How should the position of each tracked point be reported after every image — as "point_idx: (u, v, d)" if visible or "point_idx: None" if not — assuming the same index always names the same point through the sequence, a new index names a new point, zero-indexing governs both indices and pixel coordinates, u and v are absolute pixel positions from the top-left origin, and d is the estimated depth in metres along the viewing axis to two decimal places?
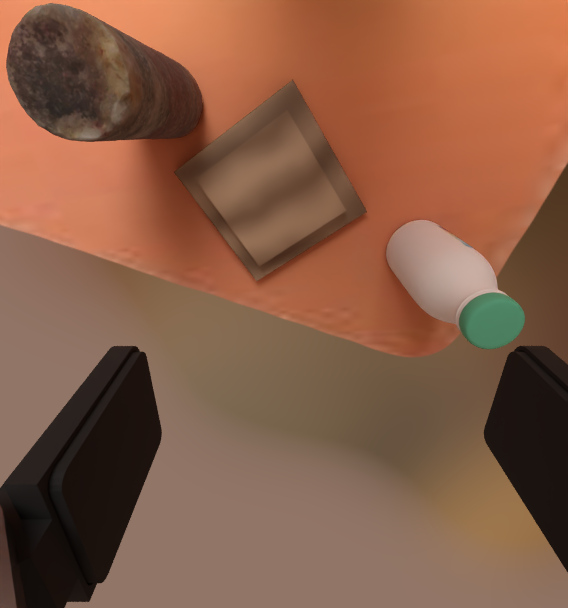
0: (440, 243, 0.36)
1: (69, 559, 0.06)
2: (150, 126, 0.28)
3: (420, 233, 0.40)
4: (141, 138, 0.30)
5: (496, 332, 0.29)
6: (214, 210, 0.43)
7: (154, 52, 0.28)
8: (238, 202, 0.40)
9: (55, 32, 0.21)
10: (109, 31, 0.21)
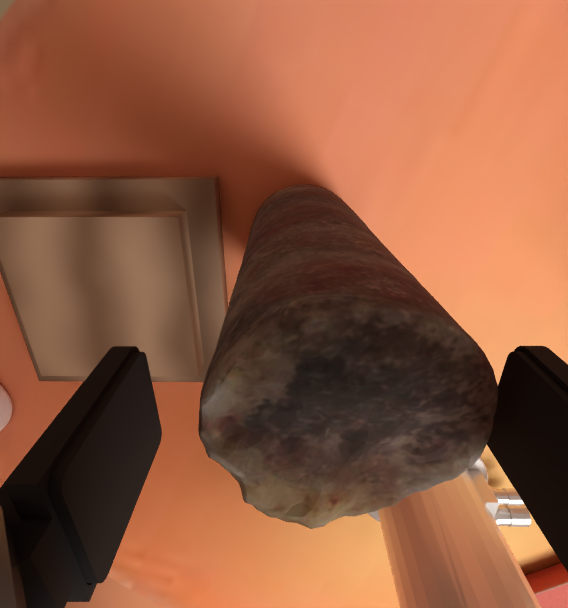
0: None
1: (70, 559, 0.06)
2: None
3: None
4: None
5: None
6: (125, 197, 0.24)
7: None
8: (112, 255, 0.23)
9: (423, 450, 0.09)
10: None
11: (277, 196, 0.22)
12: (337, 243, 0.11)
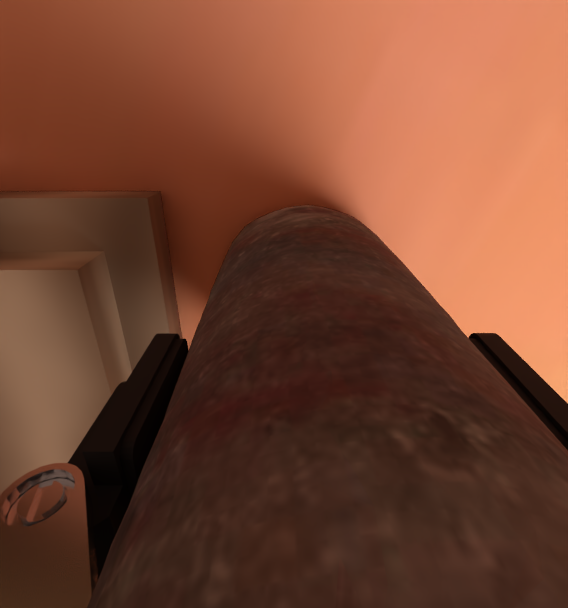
0: None
1: None
2: None
3: None
4: (126, 512, 0.05)
5: None
6: None
7: None
8: None
9: None
10: None
11: (259, 231, 0.12)
12: None
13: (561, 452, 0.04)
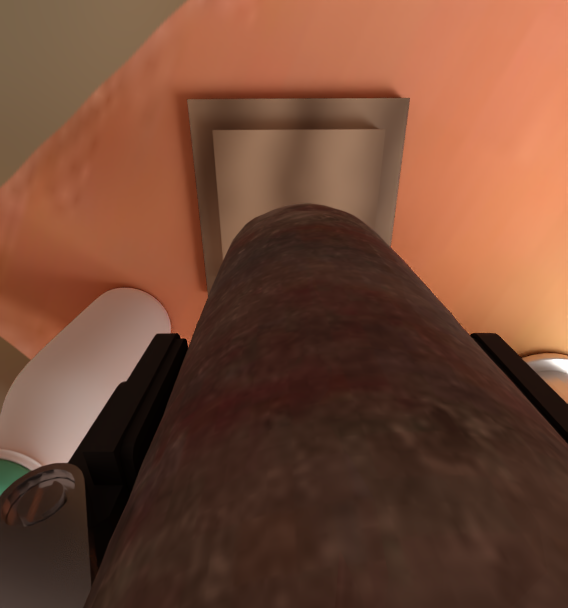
0: None
1: None
2: None
3: None
4: None
5: None
6: (326, 115, 0.27)
7: None
8: (318, 167, 0.26)
9: None
10: None
11: (259, 229, 0.12)
12: None
13: (563, 447, 0.04)
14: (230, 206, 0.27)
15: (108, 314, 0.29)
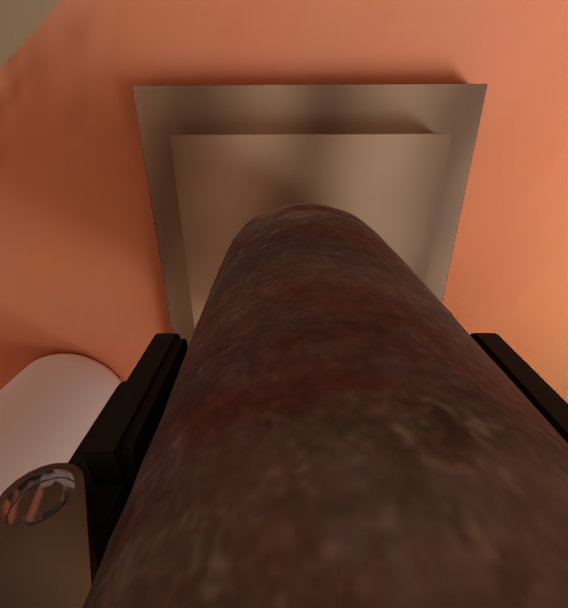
0: None
1: None
2: None
3: None
4: None
5: None
6: (353, 112, 0.17)
7: None
8: (340, 194, 0.16)
9: None
10: None
11: (258, 229, 0.12)
12: None
13: (563, 447, 0.04)
14: (203, 252, 0.18)
15: (21, 410, 0.19)
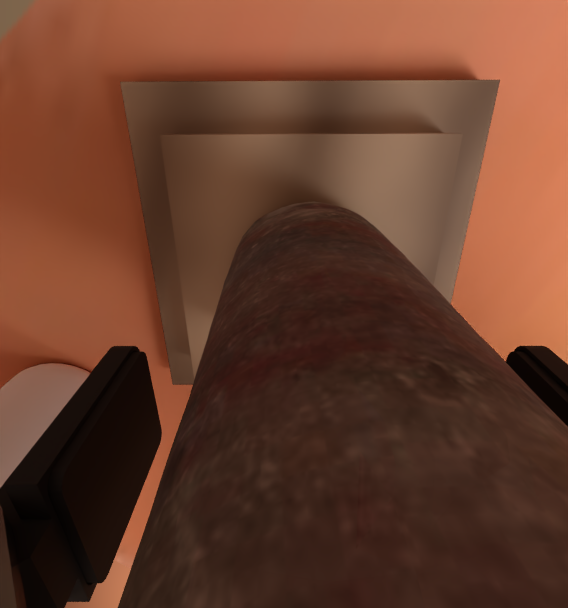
0: None
1: (70, 559, 0.06)
2: None
3: None
4: (168, 458, 0.06)
5: None
6: (357, 110, 0.16)
7: None
8: (343, 197, 0.15)
9: None
10: None
11: (269, 225, 0.13)
12: None
13: (535, 398, 0.05)
14: (196, 259, 0.17)
15: (5, 426, 0.18)
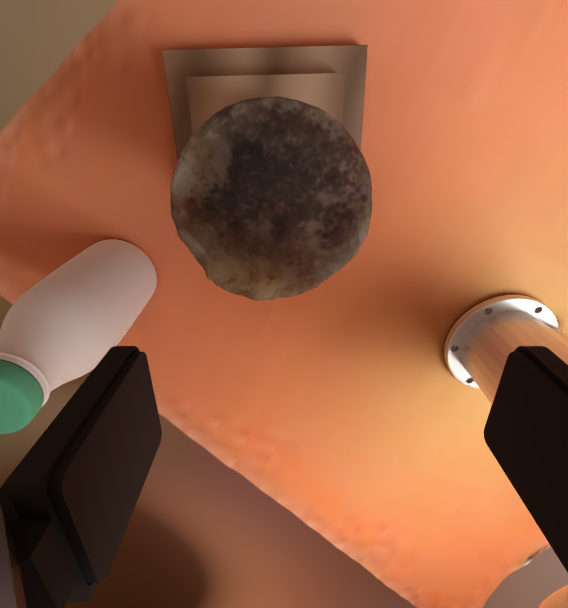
0: (123, 328, 0.30)
1: (70, 559, 0.06)
2: None
3: (141, 299, 0.34)
4: None
5: None
6: (291, 63, 0.29)
7: None
8: None
9: (329, 233, 0.13)
10: None
11: None
12: None
13: None
14: None
15: (96, 257, 0.31)
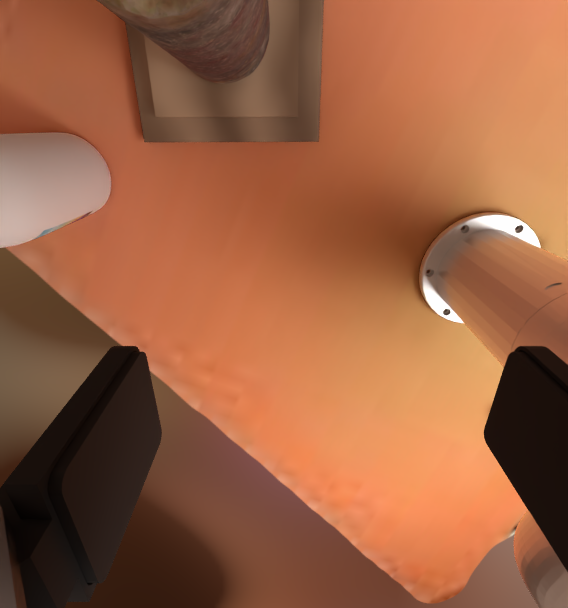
0: (59, 204, 0.28)
1: (70, 559, 0.06)
2: None
3: (87, 188, 0.31)
4: None
5: None
6: None
7: (216, 60, 0.20)
8: None
9: None
10: (166, 17, 0.12)
11: None
12: None
13: None
14: None
15: (35, 134, 0.29)
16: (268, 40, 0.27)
